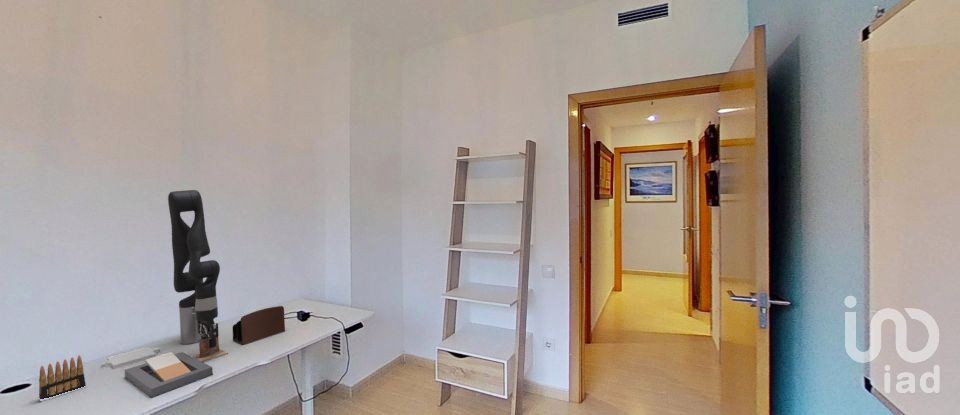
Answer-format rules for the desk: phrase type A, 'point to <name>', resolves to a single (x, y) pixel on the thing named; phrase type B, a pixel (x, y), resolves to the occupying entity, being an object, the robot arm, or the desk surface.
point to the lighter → (207, 346)
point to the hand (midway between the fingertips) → (208, 345)
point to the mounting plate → (130, 357)
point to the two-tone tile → (167, 366)
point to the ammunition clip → (66, 383)
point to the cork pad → (210, 356)
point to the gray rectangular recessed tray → (155, 386)
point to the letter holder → (259, 325)
